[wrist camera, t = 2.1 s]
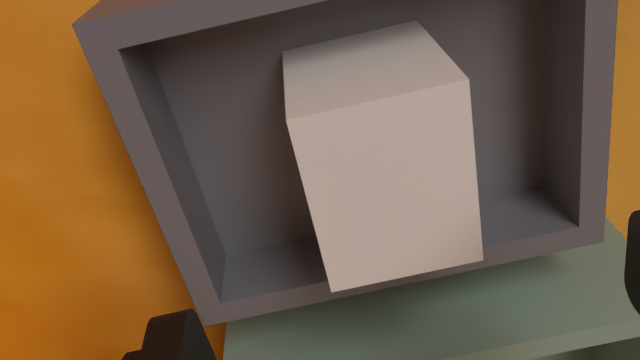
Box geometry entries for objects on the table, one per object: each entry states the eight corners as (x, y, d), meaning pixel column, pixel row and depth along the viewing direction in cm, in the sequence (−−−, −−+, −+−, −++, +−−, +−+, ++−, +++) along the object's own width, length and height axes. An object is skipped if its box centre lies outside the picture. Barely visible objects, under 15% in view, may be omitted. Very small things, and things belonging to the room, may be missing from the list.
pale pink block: (416, 20, 16) (469, 79, 12) (434, 167, 19) (483, 260, 14) (282, 51, 16) (286, 120, 12) (317, 193, 19) (331, 292, 15)
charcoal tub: (556, -113, 16) (624, -107, 13) (555, 185, 21) (604, 242, 18) (109, -7, 16) (72, 24, 13) (213, 260, 21) (203, 326, 18)
